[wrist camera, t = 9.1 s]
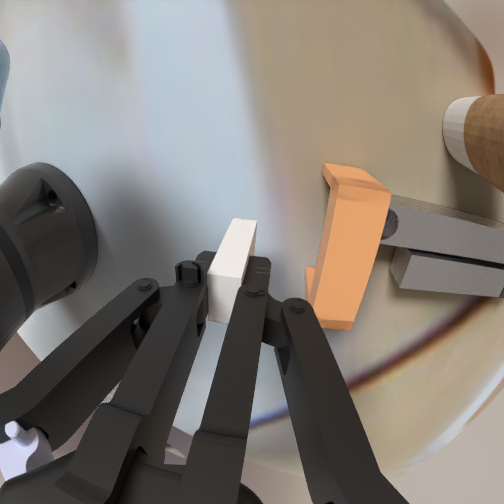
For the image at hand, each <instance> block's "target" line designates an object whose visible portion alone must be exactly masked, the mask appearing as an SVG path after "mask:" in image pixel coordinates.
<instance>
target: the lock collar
mask: <svg viewBox="0 0 504 504" xmlns="http://www.w3.org/2000/svg"><path fill="white" fill-rule="evenodd" d="M322 174H323V176H324V177H325V179H326V181H327V182H328V184H329V186H330V194H329V200H328V206H327V212H326V217H325V223H324V228H323V234H322V239H321V244H320V249H319V254H318V259H317V264H316V268H311V267H306V270H305V287H306V301H307V302H309V303H310V304H311V306H312V307H313V309H314V312H315V314H316V316H317V318H318V321H319V323H320V325H321V327H322V328H327V329H340V330H351V327H352V325H353V322H354V320H355V317H356V314H357V311H358V309H359V306H360V303H361V300H362V297H363V294H364V292H365V289H366V286H367V283H368V279H369V276H370V273H371V270H372V267H373V264H374V260H375V257H376V254H377V250H378V247H379V243H380V239H381V236H382V232H383V228H384V224H385V221H386V217H387V212H388V208H389V204H390V200H391V195H392V193H391V192H390V191H388V190H387V189H386V188H385V187H384V186H383V185H381V184H380V183H379V182H378V181H377V180H375V179H374V178H373V177H372V176H370V175H369V174H368V173H367V172H365V171H364V170H363V169H359V168H354V167H348V166H343V165H337V164H330V163H324V162H323V169H322Z"/></svg>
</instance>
